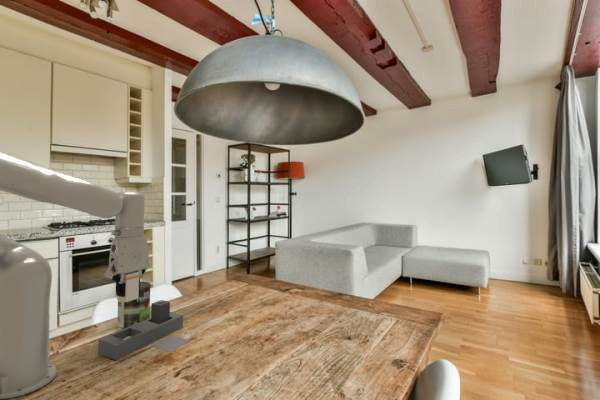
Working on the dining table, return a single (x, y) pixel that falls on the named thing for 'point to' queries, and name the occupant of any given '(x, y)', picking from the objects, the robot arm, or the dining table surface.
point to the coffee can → (135, 308)
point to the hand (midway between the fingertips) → (128, 293)
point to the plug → (130, 287)
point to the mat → (171, 343)
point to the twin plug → (160, 311)
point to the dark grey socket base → (137, 336)
